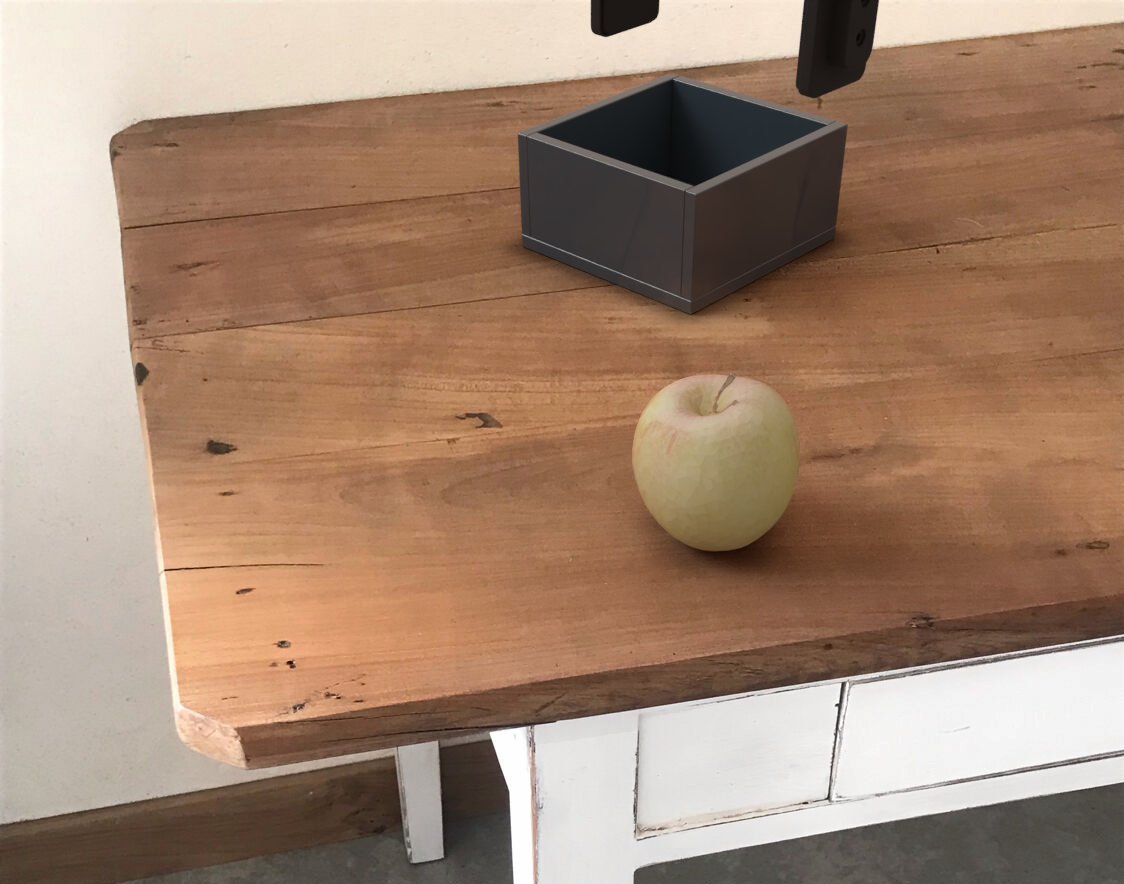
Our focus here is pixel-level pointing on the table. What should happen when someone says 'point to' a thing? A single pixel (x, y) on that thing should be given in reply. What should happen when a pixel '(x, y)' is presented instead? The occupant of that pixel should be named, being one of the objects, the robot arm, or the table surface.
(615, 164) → the dark grey open box
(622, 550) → the table surface
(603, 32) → the robot arm
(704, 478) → the fruit
